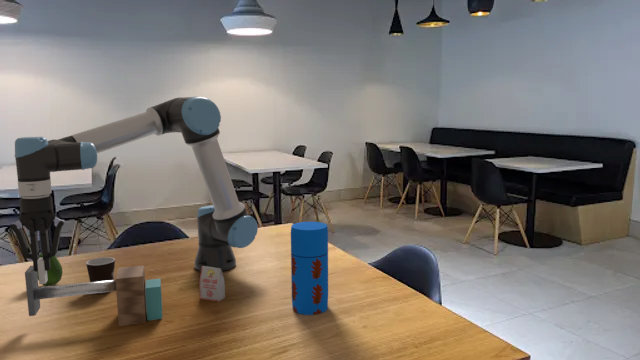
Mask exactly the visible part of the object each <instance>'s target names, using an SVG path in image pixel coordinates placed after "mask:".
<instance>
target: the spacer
mask: <svg viewBox="0 0 640 360" xmlns="http://www.w3.org/2000/svg"><path fill="white" fill-rule="evenodd" d="M161 280H162V279H161V278H152V279H145V289H146V305H147V312H146V322H147V321H154V320H162V319H163V299H162V297H163V296H162V281H161Z"/></svg>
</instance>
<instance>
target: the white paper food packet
mask: <svg viewBox="0 0 640 360" xmlns="http://www.w3.org/2000/svg"><path fill="white" fill-rule="evenodd" d="M198 282H199V285H198V286H199V299H200V300H207V301H214V302H220V301H222V300H224V299H225V298H226V287H225V284H226V283H225V277H224V274H223V271H221V268H214V267H205V266H202V267H201V271H200V275H199V280H198Z"/></svg>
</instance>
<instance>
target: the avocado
mask: <svg viewBox="0 0 640 360" xmlns="http://www.w3.org/2000/svg"><path fill="white" fill-rule="evenodd" d="M39 255H40V256H39V258H43V252H41V253H39ZM50 265H51V267H50V270H48V271H47V278H48V281H47V282H46V284H41V285H42V286H43V287H47V286H56V284H58V283H59V282H60V281H61V280H62V276H63V266H62V265H61V262H60V261H59V259H58V258H57V256H56V255H55V256H53V257H50ZM37 275H38V271H37ZM38 282H39V275H38Z"/></svg>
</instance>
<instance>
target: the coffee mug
mask: <svg viewBox="0 0 640 360" xmlns="http://www.w3.org/2000/svg"><path fill="white" fill-rule="evenodd" d="M115 262H116V259H115V258H114V257H111V256H103V257H96V258H92V259H89V260H87V261H86V263H85V264H86V269H87V272H88V273H87V274H88V279H89V282H97V281H107V280H115V266H116V263H115ZM109 293H110V292H104V293H94V295H105V294H109Z"/></svg>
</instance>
